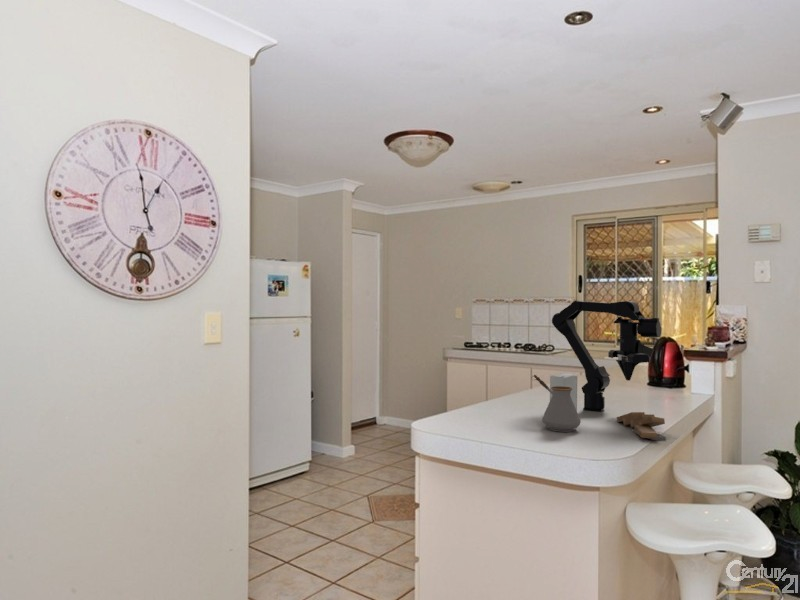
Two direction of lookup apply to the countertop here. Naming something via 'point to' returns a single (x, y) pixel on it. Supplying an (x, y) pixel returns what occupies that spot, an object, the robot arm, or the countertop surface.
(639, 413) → the domino
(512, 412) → the countertop surface
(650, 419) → the domino
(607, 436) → the countertop surface
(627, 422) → the domino
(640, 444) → the countertop surface
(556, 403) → the coffee pot
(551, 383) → the skincare box
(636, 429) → the domino
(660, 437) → the domino
